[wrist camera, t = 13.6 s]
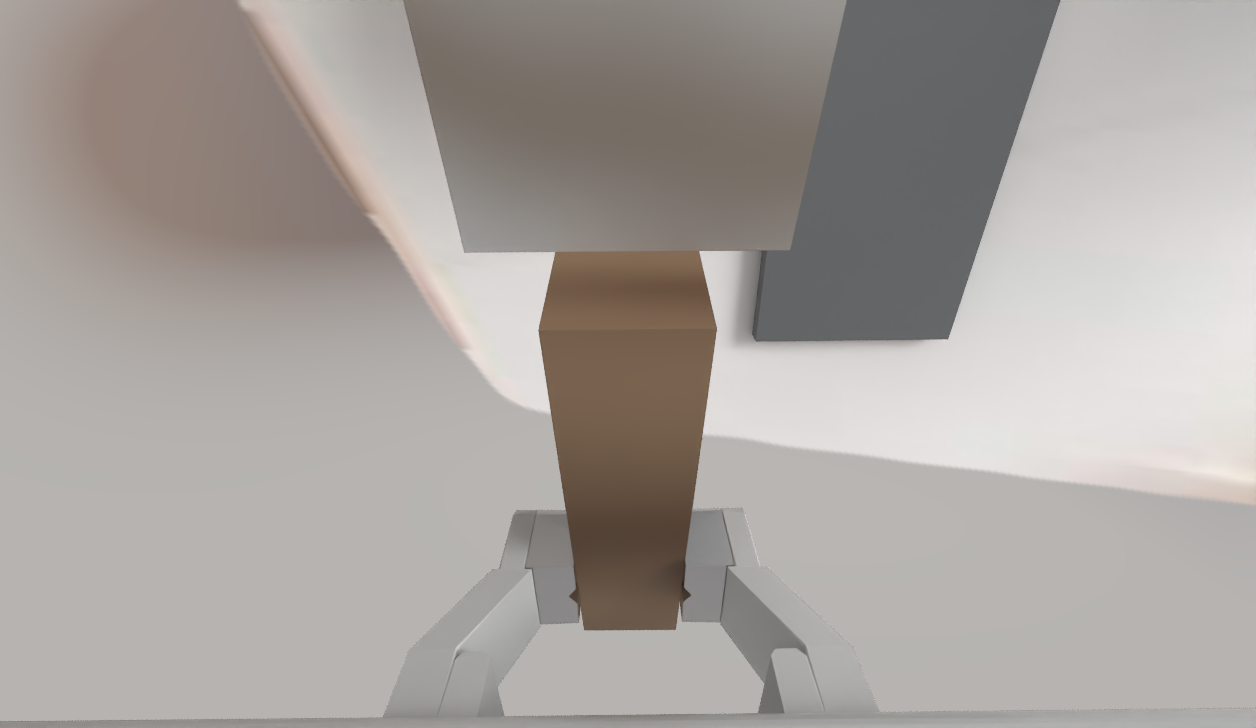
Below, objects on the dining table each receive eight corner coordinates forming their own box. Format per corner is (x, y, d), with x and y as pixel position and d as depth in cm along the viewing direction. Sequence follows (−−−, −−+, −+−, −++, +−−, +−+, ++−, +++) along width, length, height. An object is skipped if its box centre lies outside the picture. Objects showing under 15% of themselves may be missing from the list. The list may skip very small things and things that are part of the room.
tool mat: (800, -67, 23) (807, -73, 22) (1067, -71, 23) (1086, -78, 22) (752, 334, 32) (755, 341, 31) (939, 332, 32) (947, 339, 31)
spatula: (382, -230, 5) (193, -357, 3) (865, -234, 5) (1053, -365, 3) (541, 520, 14) (526, 630, 12) (716, 518, 14) (733, 629, 12)
